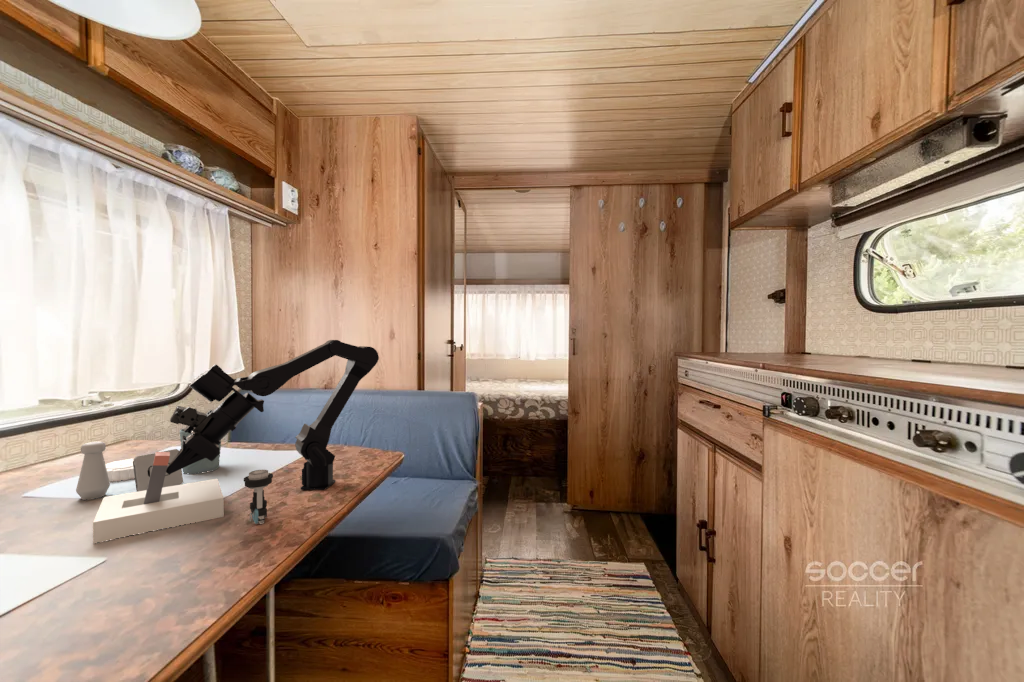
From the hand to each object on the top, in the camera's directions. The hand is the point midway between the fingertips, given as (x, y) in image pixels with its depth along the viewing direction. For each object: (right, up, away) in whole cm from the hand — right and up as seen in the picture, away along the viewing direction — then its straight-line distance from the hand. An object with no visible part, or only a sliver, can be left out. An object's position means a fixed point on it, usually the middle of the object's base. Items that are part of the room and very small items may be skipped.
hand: (167, 472), depth 92 cm
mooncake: (-33, -9, +28) cm, 44 cm away
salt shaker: (-26, -9, +11) cm, 30 cm away
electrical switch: (-16, -9, +17) cm, 25 cm away
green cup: (-16, -9, +33) cm, 38 cm away
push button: (+21, -10, -2) cm, 23 cm away
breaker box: (0, -9, 0) cm, 9 cm away
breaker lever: (-2, -7, -2) cm, 7 cm away
